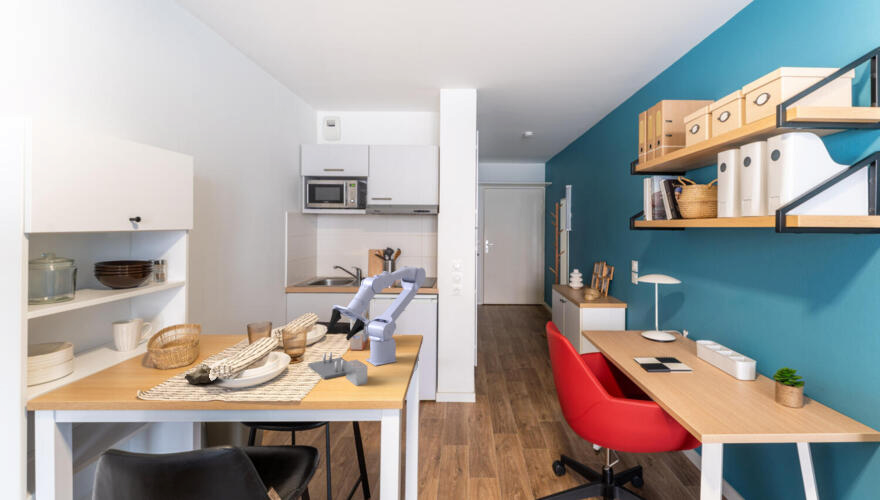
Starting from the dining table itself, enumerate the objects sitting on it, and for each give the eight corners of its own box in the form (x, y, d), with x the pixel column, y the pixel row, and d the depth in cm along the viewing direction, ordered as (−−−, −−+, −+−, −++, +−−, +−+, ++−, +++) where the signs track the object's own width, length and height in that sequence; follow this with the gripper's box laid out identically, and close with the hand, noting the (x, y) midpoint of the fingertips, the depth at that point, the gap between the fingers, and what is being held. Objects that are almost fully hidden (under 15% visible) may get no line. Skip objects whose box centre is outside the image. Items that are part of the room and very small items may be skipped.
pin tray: (340, 359, 160) (341, 348, 159) (359, 372, 147) (359, 359, 147) (308, 366, 152) (308, 354, 151) (324, 379, 139) (324, 366, 139)
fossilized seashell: (178, 380, 130) (210, 385, 130) (187, 359, 133) (218, 364, 133) (188, 384, 136) (218, 389, 137) (196, 364, 139) (226, 369, 140)
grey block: (356, 376, 143) (356, 359, 143) (367, 383, 137) (367, 366, 136) (345, 378, 141) (346, 361, 140) (356, 386, 134) (356, 368, 134)
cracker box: (363, 350, 172) (364, 301, 170) (349, 350, 172) (349, 301, 170) (369, 341, 186) (370, 295, 184) (356, 341, 186) (356, 295, 184)
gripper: (340, 290, 146) (317, 320, 138) (375, 305, 143) (354, 337, 135) (343, 300, 152) (321, 330, 144) (377, 315, 148) (356, 347, 140)
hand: (337, 334), depth 140 cm, fingers open, 7 cm apart
